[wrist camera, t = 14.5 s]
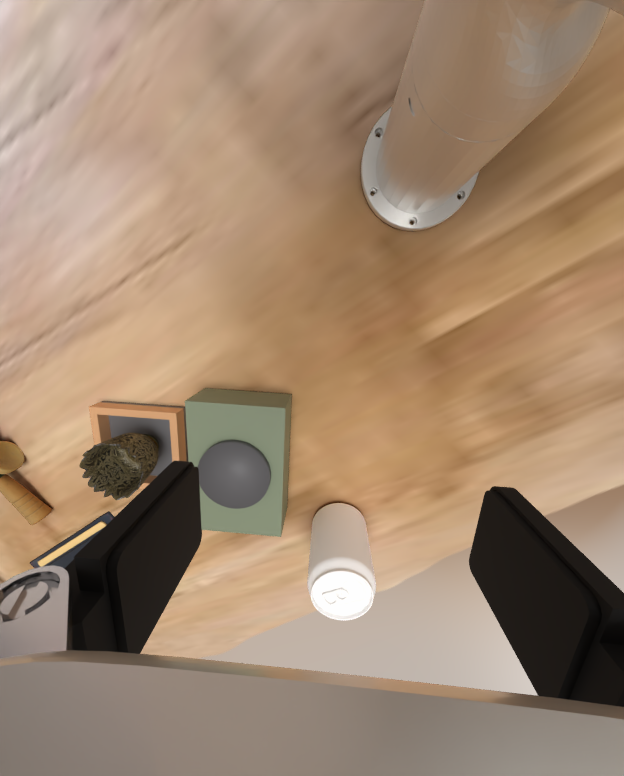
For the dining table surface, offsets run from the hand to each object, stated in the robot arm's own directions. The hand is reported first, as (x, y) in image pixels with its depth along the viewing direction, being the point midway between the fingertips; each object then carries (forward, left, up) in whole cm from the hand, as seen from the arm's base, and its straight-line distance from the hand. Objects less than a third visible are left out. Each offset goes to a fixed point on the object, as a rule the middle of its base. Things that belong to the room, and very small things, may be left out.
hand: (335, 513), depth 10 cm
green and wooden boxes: (+14, -18, -30) cm, 38 cm away
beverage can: (+25, +3, -31) cm, 40 cm away
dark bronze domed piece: (+14, -25, -30) cm, 42 cm away
